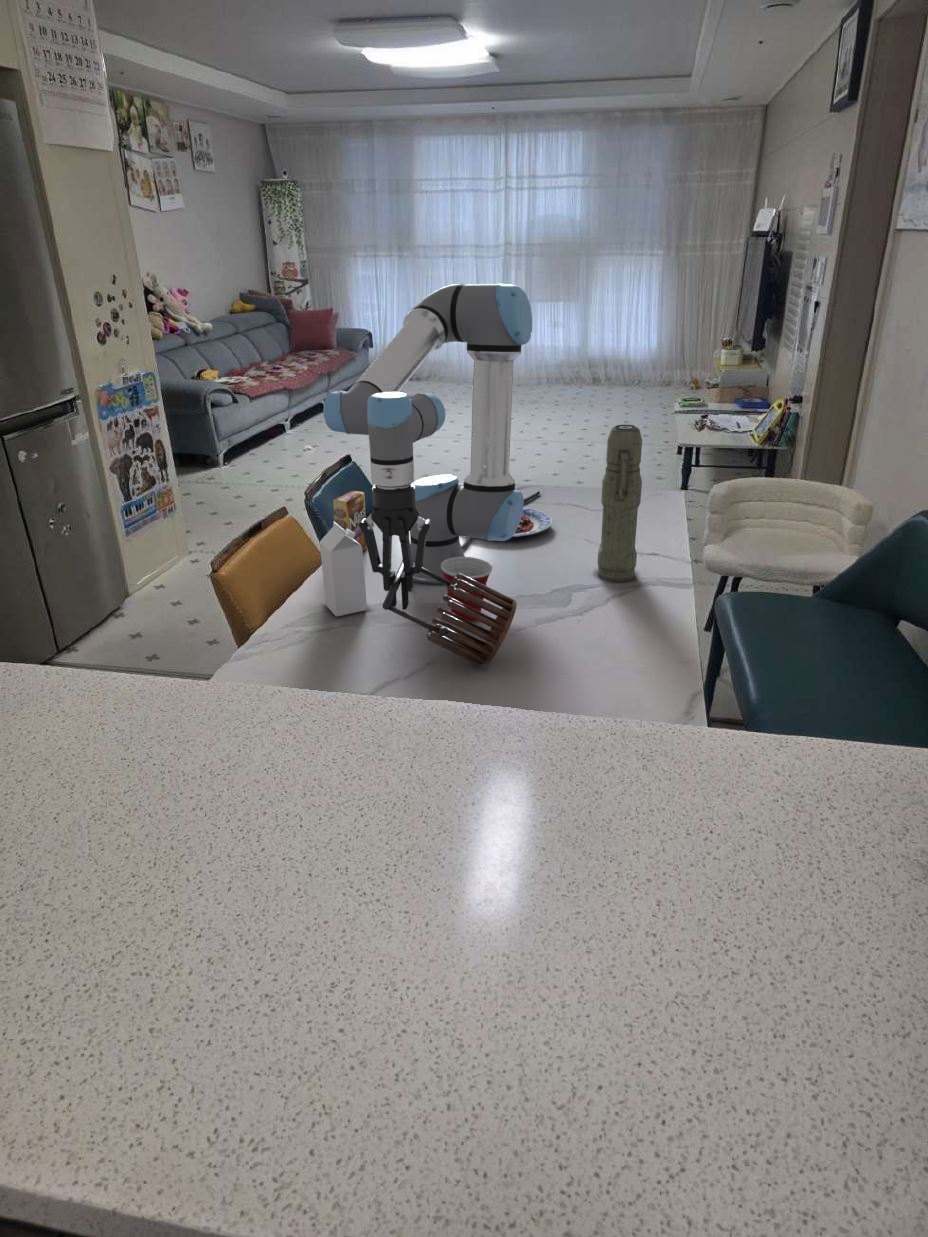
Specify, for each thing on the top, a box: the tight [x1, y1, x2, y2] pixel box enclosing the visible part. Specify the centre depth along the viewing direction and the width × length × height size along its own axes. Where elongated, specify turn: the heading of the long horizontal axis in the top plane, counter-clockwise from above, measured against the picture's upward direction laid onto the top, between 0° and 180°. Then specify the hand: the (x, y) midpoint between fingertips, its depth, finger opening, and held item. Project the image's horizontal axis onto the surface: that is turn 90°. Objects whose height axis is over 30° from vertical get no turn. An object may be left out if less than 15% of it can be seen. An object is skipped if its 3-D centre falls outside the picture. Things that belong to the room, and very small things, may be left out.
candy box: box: [332, 490, 368, 551], centre depth 209 cm, size 9×4×15 cm, turn 155°
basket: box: [382, 559, 518, 668], centre depth 153 cm, size 16×22×14 cm
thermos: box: [597, 424, 643, 583], centre depth 188 cm, size 9×12×35 cm
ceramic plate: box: [511, 506, 553, 538], centre depth 227 cm, size 26×26×3 cm
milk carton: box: [319, 520, 368, 618], centre depth 177 cm, size 7×7×19 cm
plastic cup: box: [441, 556, 493, 623], centre depth 173 cm, size 11×11×12 cm
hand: (399, 606), depth 155 cm, fingers closed on basket, 2 cm apart
